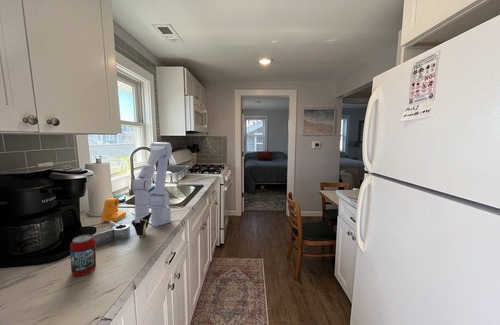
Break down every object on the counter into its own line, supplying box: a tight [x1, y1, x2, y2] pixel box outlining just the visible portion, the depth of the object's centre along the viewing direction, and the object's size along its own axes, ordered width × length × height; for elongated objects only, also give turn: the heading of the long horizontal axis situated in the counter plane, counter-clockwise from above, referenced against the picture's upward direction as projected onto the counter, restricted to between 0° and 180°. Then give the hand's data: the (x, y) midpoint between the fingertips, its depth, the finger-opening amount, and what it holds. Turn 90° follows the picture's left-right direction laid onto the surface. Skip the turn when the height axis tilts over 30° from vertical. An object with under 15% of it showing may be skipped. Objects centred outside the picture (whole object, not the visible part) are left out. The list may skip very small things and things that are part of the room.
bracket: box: [101, 197, 127, 222], centre depth 119 cm, size 11×7×12 cm, turn 179°
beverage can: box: [69, 234, 97, 277], centre depth 73 cm, size 7×7×12 cm
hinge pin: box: [138, 219, 147, 239], centre depth 100 cm, size 4×4×8 cm
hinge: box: [92, 221, 131, 247], centre depth 97 cm, size 14×14×5 cm
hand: (142, 231), depth 100 cm, fingers open, 7 cm apart
